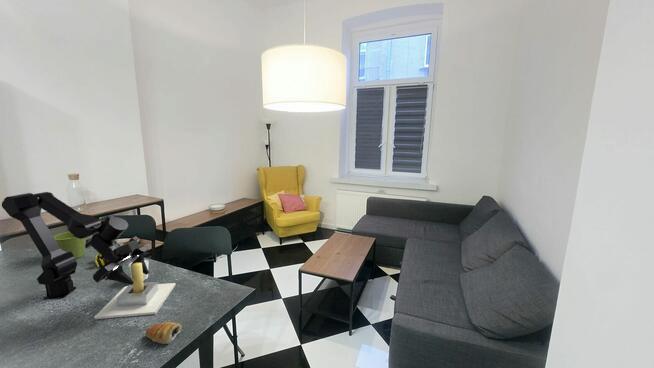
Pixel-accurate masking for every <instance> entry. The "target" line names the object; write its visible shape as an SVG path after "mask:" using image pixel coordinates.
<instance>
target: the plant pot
mask: <svg viewBox="0 0 654 368" xmlns="http://www.w3.org/2000/svg"><path fill="white" fill-rule="evenodd" d="M53 237H54V238H55V240H56V242H57V243H58V245H59V247H60V248H61V250H63V251H65V252H69V251H71V252H72V253H73V255H74V257H75V258H76V259H79V258H81V257H83V256H84V255H85V244H86V238H81V239H79V238H77V237H75V236H74V235H73V234H72V233H71V232H69V231H66V232H61V233H59V234H56V235H53Z"/></svg>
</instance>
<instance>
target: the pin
mask: <svg viewBox="0 0 654 368" xmlns="http://www.w3.org/2000/svg"><path fill="white" fill-rule="evenodd" d="M131 274H132V281H133V282H134V284H133V285H132V286H133V293H142V292H143V291H144V284H143V283H144V281H143V271H142V263H134V264H132V265H131Z"/></svg>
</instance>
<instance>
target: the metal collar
mask: <svg viewBox="0 0 654 368" xmlns="http://www.w3.org/2000/svg"><path fill="white" fill-rule="evenodd" d="M143 284H144V291H143V292H142V293H133V286H132V285H129V284H128V285H127V286H128V287H127V288H126V289H125V290H124V291H123V292H122V293H121V294H120V295H119V296H118V297H117V304H118V307H125V306H138V305H147V304H148V303H149V301H150V300H151V299H152V298H153V296H154V295H155V294H156V292H157V291H158V284H159V282H158V281H151V282H150V281H149V282H147V281H146V282H143Z"/></svg>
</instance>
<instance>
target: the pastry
mask: <svg viewBox="0 0 654 368" xmlns="http://www.w3.org/2000/svg"><path fill="white" fill-rule="evenodd" d="M181 331H182V325H181V324H180V323H178V322H177V323H176V322H171V321H167V322H163V323H161V322H159V323H156V324H153V325H152V326H150V327H149V328H147V329H146V330H145V336H146V337H147V338H149V339H150V340H151V341H152V342H153V343H159V344H162V345H168V344H170V343H171V342H173V341H174V340H175V338H176V337H177V336H178V335H179V334H180V333H181Z"/></svg>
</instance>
